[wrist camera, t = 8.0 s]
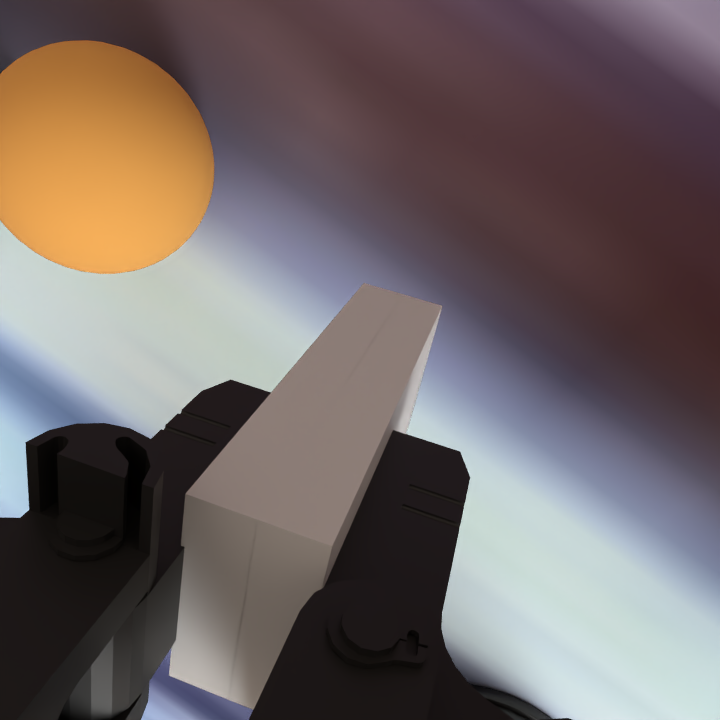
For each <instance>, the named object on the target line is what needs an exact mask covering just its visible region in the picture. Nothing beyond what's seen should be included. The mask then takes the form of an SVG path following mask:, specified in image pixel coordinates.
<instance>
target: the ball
mask: <svg viewBox="0 0 720 720" xmlns="http://www.w3.org/2000/svg"><path fill="white" fill-rule="evenodd" d="M213 182H214V157H213V150H212V145H211V141H210V137H209V134H208V131H207V129H206V126H205V123H204V121H203V119H202V117H201V115H200V113H199V111H198V109H197V108H196V106H195V104H194V103H193V101H192V100H191V98H190V97H189V95H188V94H187V93H186V92H185V90H184V89H183V88H182V87H181V86H180V85H179V84H178V83H177V82H176V80H175V79H174V78H172V77H171V76H170V75H169V74H168V73H167V72H165V71H164V70H163V69H162V68H160V67H159V66H158V65H157V64H155V63H153V62H152V61H150V60H148V59H147V58H145V57H143V56H141V55H139V54H138V53H135V52H133V51H131V50H128V49H126V48H123V47H119V46H116V45H112V44H108V43H104V42H98V41H89V40H80V41H63V42H58V43H53V44H49V45H46V46H43V47H41V48H38V49H35V50H33V51H30V52H29V53H27V54H25V55H23V56H22V57H20V58H18V59H17V60H16V61H14V62H13V63H12V64H11V65H9V66H8V67H7V68H6V69H5V70H3V71H2V73H1V74H0V220H1V221H2V223H3V224H4V225H5V226H6V227H7V229H8V230H9V231H10V232H11V233H12V234H13V235H14V236H15V237H16V238H17V239H18V240H20V241H21V242H22V243H24V244H25V245H26V246H28V247H29V248H30V249H32V250H33V251H34V252H36V253H38V254H39V255H41V256H43V257H45V258H46V259H48V260H50V261H53V262H55V263H58V264H60V265H62V266H65V267H68V268H71V269H75V270H79V271H84V272H91V273H99V274H115V273H123V272H129V271H135V270H138V269H142V268H145V267H148V266H150V265H152V264H155V263H157V262H159V261H161V260H163V259H164V258H166V257H167V256H169V255H170V254H172V253H173V252H175V251H176V250H177V249H179V248H180V247H181V246H182V245H183V244H184V243H185V242H186V241H187V240H188V239H189V238H190V237H191V235H192V234H193V232H194V231H195V230H196V228H197V227H198V225H199V224H200V222H201V220H202V219H203V217H204V214H205V212H206V209H207V207H208V204H209V202H210V198H211V195H212V189H213Z"/></svg>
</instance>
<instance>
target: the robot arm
mask: <svg viewBox="0 0 720 720" xmlns="http://www.w3.org/2000/svg"><path fill="white" fill-rule="evenodd" d="M441 309H442V306H441V305H437V304H434V303H431V302H427V301H424V300H420V299H417V298H413V297H410V296H407V295H403V294H400V293H396V292H393V291H389V290H386V289H383V288H379V287H376V286H372V285H369V284H365V283H364V284H363V285H362V286H361V287H360V288H359V290H358V291H357V292H356V293H355V294H354V295H353V297H352V298H351V299H350V300H349V301H348V303H347V304H346V305H345V306H344V307H343V308H342V310H341V311H340V312H339V313H338V314H337V316H336V317H335V318H334V319H333V320H332V321H331V323H330V324H329V325H328V326H327V327H326V329H325V330H324V331H323V332H322V333H321V334H320V336H319V337H318V338H317V339H316V340H315V341H314V343H313V344H312V345H311V346H310V347H309V349H308V350H307V351H306V352H305V353H304V354H303V356H302V357H301V358H300V359H299V360H298V362H297V363H296V364H295V365H294V366H293V367H292V369H291V370H290V371H289V372H288V373H287V375H286V376H285V377H284V378H283V379H282V380H281V382H280V383H279V384H278V385H277V386H276V388H275V389H274V390H273V391H272V392H271V393H270V392H267V391H264V390H261V389H258V388H255V387H252V386H249V385H246V384H242V383H239V382H236V381H233V380H229V381H226V382H224V383H221V384H219V385H216V386H214V387H211V388H209V389H206V390H203V391H201V392H200V393H199V394H198V395H197V396H196V397H195V398H194V399H193V400H192V401H191V402H190V403H189V404H187V405H186V406H185V407H184V408H183V409H182V412H181V414H177V415H176V416H175V417H174V418H173V419H172V420H171V421H170V422H168V423H167V424H166V425H165V429H164V430H162V429H161V430H160V431H159V432H158V433H157V434H156V435H155V436H154V437H153V438H152V439H149V438H147V437H146V436H144V435H142V434H140V433H138V432H136V431H134V430H132V429H130V428H126V427H121V426H116V425H111V424H106V423H90V424H73V425H69V426H65V427H61V428H57V429H52V430H49V431H47V432H45V433H43V434H41V435H39V436H37V437H35V438H33V439H31V440H29V441H27V442H26V458H27V475H28V493H29V511H28V512H26V513H25V514H24V515H23V516H22V517H21V518H0V720H141V718H142V715H143V713H144V710H145V708H146V705H147V703H148V694H149V681H150V679H151V678H152V676H153V675H154V673H155V672H156V670H157V669H158V667H159V665H160V664H161V662H162V661H163V659H164V658H165V656H166V655H167V653H168V652H169V650H170V649H171V660H170V671H169V676H172V677H174V678H176V679H179V680H181V681H184V682H186V683H189V684H191V685H194V686H196V687H199V688H201V689H204V690H206V691H208V692H211V693H213V694H216V695H218V696H221V697H223V698H226V699H228V700H231V701H233V702H236V703H238V704H240V705H243V706H245V707H248V708H250V709H253V712H252V714H251V716H250V718H249V720H514V719H513V718H511V717H510V716H509V715H507V714H506V713H504V712H503V711H502V710H500V709H499V708H498V707H496V706H495V705H494V704H492V703H491V702H489V701H488V700H487V699H486V698H485V697H483V696H482V695H481V694H480V693H479V692H478V691H477V690H475V689H474V688H473V687H472V686H471V685H470V684H469V683H468V682H467V681H466V679H465V678H464V677H463V676H462V674H461V673H460V672H459V671H458V669H457V668H456V667H455V665H454V663H453V661H452V659H451V657H450V655H449V653H448V651H447V649H446V647H445V643H444V639H443V635H442V630H441V622H442V610H443V605H444V601H445V596H446V591H447V586H448V581H449V576H450V572H451V567H452V562H453V557H454V552H455V547H456V543H457V538H458V533H459V527H460V523H461V519H462V514H463V509H464V503H465V499H466V494H467V490H468V485H469V480H470V476H469V473H468V471H467V468H466V466H465V463H464V461H463V458H462V455H461V453H460V452H459V451H456V450H453V449H450V448H447V447H444V446H441V445H438V444H435V443H432V442H429V441H426V440H422V439H419V438H416V437H413V436H410V435H407V434H406V432H407V430H408V427H409V423H410V420H411V416H412V412H413V409H414V405H415V402H416V398H417V395H418V391H419V388H420V384H421V380H422V377H423V373H424V370H425V366H426V363H427V359H428V355H429V352H430V348H431V345H432V341H433V338H434V334H435V331H436V327H437V323H438V320H439V316H440V313H441ZM171 647H172V648H171ZM540 720H572V719H569V718H563V719H540Z"/></svg>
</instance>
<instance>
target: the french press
mask: <svg viewBox="0 0 720 720" xmlns="http://www.w3.org/2000/svg"><path fill="white" fill-rule="evenodd" d="M471 686H472V687H473V688H474V689H475V690H477V691H478V692H479V693H480V694H481V695H482V696H483V697H485V698H486V699H487V700H488V701H489V702H491V703H492V704H494V705H495V706H496V707H498V708H499V709H500V710H502V711H503V712H504V713H506V714H507V715H509V716H510V717H511V718H513V719H514V720H540V719H551V718H550V717H548V716H547V715H545V714H544V713H542V712H541V711H539V710H538V709H536V708H535V707H533V706H532V705H530V704H527V703H525V702H523V701H521V700H519V699H517V698H515V697H513V696H511V695H508V694H505V693H502V692H499V691H496V690H493V689H490V688H484V687H479V686H474V685H471Z"/></svg>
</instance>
